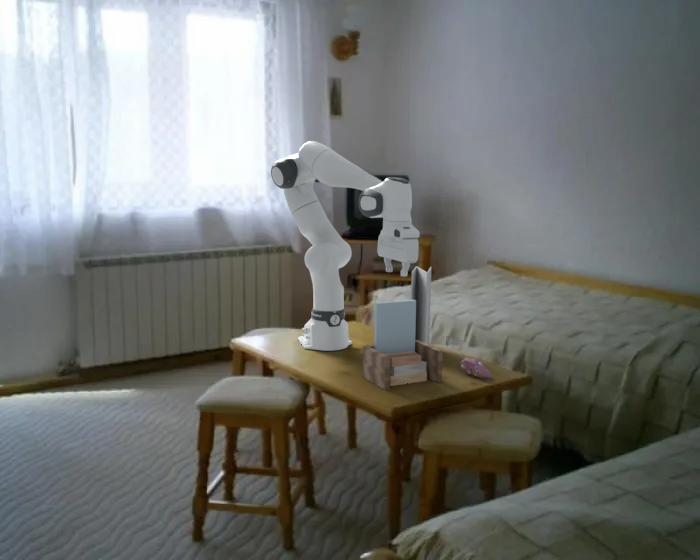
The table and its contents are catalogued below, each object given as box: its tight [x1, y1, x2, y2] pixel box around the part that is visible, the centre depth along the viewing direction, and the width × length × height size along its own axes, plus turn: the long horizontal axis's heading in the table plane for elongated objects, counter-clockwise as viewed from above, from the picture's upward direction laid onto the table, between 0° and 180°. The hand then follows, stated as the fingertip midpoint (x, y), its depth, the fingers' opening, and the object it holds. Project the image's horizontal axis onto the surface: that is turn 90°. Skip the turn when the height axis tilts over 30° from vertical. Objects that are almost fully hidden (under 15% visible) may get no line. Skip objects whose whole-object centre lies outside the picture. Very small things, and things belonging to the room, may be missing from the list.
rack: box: [361, 340, 444, 391], centre depth 229 cm, size 15×20×10 cm
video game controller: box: [459, 357, 492, 379], centre depth 234 cm, size 10×5×7 cm, turn 35°
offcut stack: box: [385, 351, 428, 387], centre depth 228 cm, size 7×13×8 cm, turn 116°
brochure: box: [410, 266, 432, 345], centre depth 260 cm, size 14×6×30 cm, turn 168°
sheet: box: [373, 299, 416, 354], centre depth 232 cm, size 2×14×24 cm, turn 115°
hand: (396, 274), depth 229 cm, fingers open, 8 cm apart
